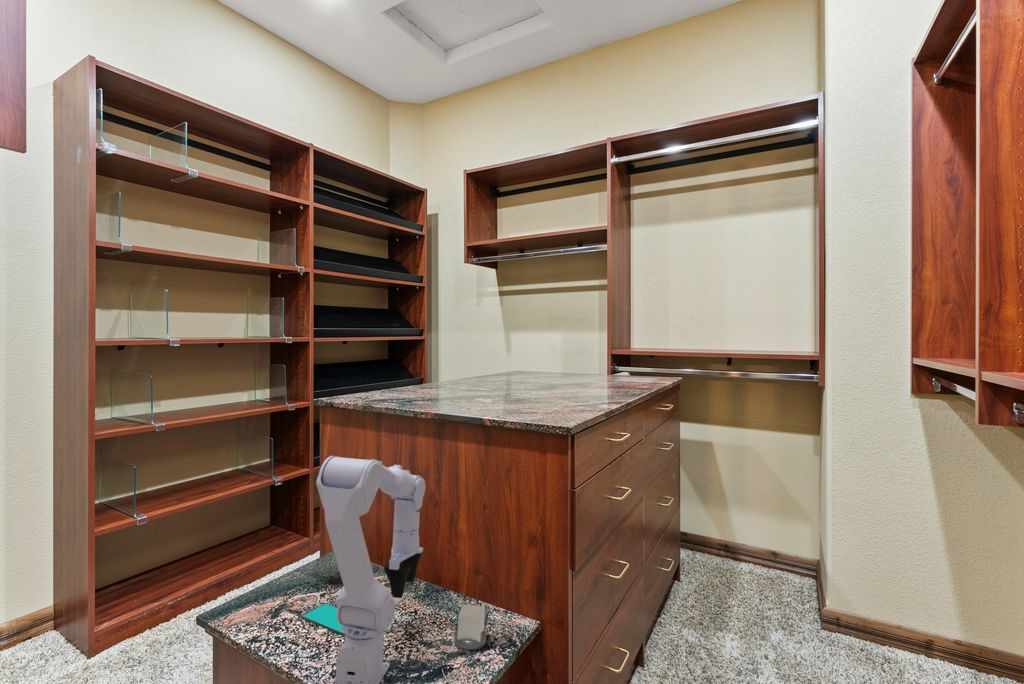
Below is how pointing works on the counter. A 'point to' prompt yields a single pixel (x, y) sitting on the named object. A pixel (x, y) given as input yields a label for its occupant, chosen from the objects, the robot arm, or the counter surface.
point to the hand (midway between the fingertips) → (403, 588)
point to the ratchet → (470, 644)
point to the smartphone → (324, 618)
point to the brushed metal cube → (471, 623)
